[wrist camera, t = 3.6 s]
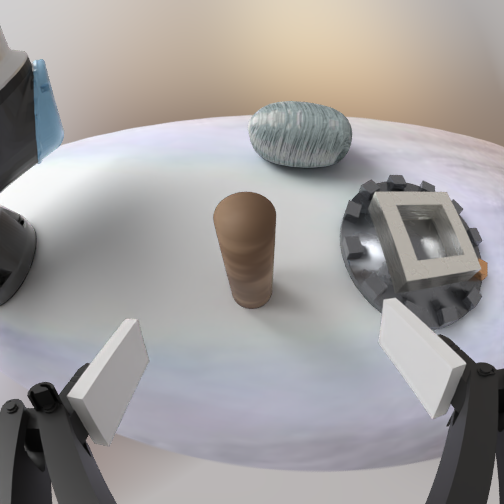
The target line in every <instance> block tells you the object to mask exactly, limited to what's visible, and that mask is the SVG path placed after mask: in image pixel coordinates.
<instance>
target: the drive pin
mask: <svg viewBox="0 0 504 504" xmlns="http://www.w3.org/2000/svg"><path fill="white" fill-rule="evenodd" d="M213 220H214V225H215V229H216V233H217V237H218V241H219V245H220V249H221V253H222V257H223V261H224V265H225V268H226V272H227V276H228V280H229V284H230V288H231V291H232V295H233V298H234V300H235V301H236V302H237V303H238V304H239V305H240V306H242V307H245V308H249V309H254V308H259V307H261V306H263V305H264V304H266V303H267V302H268V300H269V299H270V297H271V294H272V282H273V265H274V247H275V228H276V211H275V208H274V206H273V204H272V203H271V202H270V201H269V200H268V199H267V198H266V197H264V196H262V195H260V194H257V193H253V192H239V193H235V194H232V195H230V196H228V197H226V198H225V199H223V200H222V201H221V202H220V203H219V204H218V205H217V207H216V209H215V211H214V216H213Z"/></svg>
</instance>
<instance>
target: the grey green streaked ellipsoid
mask: <svg viewBox="0 0 504 504" xmlns="http://www.w3.org/2000/svg"><path fill="white" fill-rule="evenodd" d="M248 131H249V136H250V141H251V143H252V145H253V148H254V149H255V151H256V152H257V153H258V154H259V155H260V156H261V157H263V158H264V159H265V160H267V161H270V162H273V163H276V164H279V165H284V166H290V167H302V168H314V167H325V166H329V165H332V164H335V163H337V162H339V161H340V160H341V159H343V157H344V156H345V155H346V154H347V152H348V150H349V148H350V145H351V141H352V129H351V125H350V123H349V121H348V119H347V118H346V117H345V116H344V115H343V114H342V113H340V112H339V111H337V110H335V109H333V108H331V107H327V106H323V105H319V104H314V103H307V102H293V101H287V102H277V103H273V104H269V105H267V106H265V107H263V108H261V109H260V110H259V111H257V112H256V113H255V114H254V115H253V116H252V118H251V119H250V121H249V125H248Z"/></svg>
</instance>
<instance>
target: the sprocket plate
mask: <svg viewBox="0 0 504 504" xmlns="http://www.w3.org/2000/svg"><path fill="white" fill-rule="evenodd" d="M462 210H463V208H462V207H461V206H460V205H459V204H458V203H457V202H456V201H455V200H454V199H453V200H452V201H451V200H450V198H449V196H448V194H447V192H435V186H434V185H431V184H429V183H427V182H425V181H422V183H421V185H420V187H419V186H417V185H413V184H410V183H406V182H405V180H404V178H403V176H402V175H390V176H389V178H388V181H387V182H382V183H377V184H376V183H375V182H373V181H372V180H370V181H368V182H366V183H365V184H363V185H361V188H360V191H359V193H358V194H357V195H356V196H355V197H354V198H353V199H352V201H350V200H349V202H348V205H347V208H346V211H345V214H344V217H343V220H342V224H341V230H340V246H341V251H342V256H343V260H344V263H345V266H346V268H347V270H348V273H349V275H350V277H351V279H352V280H353V282H354V284H355V285H356V287H357V288H358V290H359V291H360V292H361V294H362V295H363V296H364V297H365V298H366V299H367V300H368V301H369V303H370V304H371V305H372V306H374V307H375V308H376V309H377V310H378V311H380V312H381V313H382V310H383V300H384V299H391V298H396V299H398V300H399V301H400V302H401V303H402V304H403V305H404V306H406V307H407V308H408V309H409V310H410V311H411V312H412V313H413V314H415V315H416V316H417V317H418V318H419V319H420V320H421V321H422V322H423V323H425V324H426V325H427V326H428V327H429V328H430V329H431V330H433V329H438V328H443V327H445V326H448V325H450V324H452V323H454V322H456V321H457V320H459V319H460V318H462V317H463V316H464V315H465V314H466V313H467V312H468V311H470V310H472V309H473V308H475V307H476V305H477V303H478V302H479V300H480V299H481V297H482V296H481V294H480V293H479V291H480V287H481V283H482V280H483V279H484V278H486V277H487V262H485V261H483V260H481V257H480V253H479V249H478V245H479V244H480V243H481V242H482V239H481V237H480V235H479V232H478V230H477V228H469V227H468V226H467V224H466V223H465V221H464V220H463V219H462V217H461V216H460V215H459V214H460V213H461V212H462Z"/></svg>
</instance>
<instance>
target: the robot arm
mask: <svg viewBox="0 0 504 504" xmlns="http://www.w3.org/2000/svg"><path fill="white" fill-rule="evenodd" d="M63 138H64V130H63V126H62V123H61V120H60V116H59V113H58V109H57V106H56V103H55V99H54V96H53V92H52V88H51V85H50V81H49V77H48V73H47V69H46V65H45V61H44V60H43V59H40V60H35V61H34V62H33V63H32V64H31V62H30V60H29V58H28V55H27V53H26V52H25V51H18V50H11V49H10V48H9V47H8V45H7V42H6V40H5V37H4V34H3V32H2V29H1V27H0V193H1V192H2V191H3V190H4V189H5V188H7V187H8V186H9V185H10V184H11V183H13V182H14V181H15V180H16V179H17V178H19V177H20V176H21V175H22V174H24V173H25V172H26V171H27V170H29V169H30V168H31V167H33V166H34V165H35V164H37V163H38V164H40V163H41V162H42V159H44V158H45V157H46V156H48V155H49V154H50V153H51V152H53V151H54V150H55V149H57V148H58V147H59V146H60V145H61V143H62V141H63ZM35 247H36V234H35V230H34V228H33V226H32V225H31V224H30V223H29V222H28V221H27V220H26V219H25V218H24V217H23V216H22V215H20V214H18V213H16V212H14V211H12V210H10V209H8V208H6V207H4V206H2V205H0V305H1V304H3V303H5V302H6V301H7V300H9V299H10V298H11V297H12V296H13V295H14V293H15V292H16V291H17V290H18V288H19V287H20V285H21V284H22V282H23V281H24V279H25V277H26V275H27V273H28V271H29V268H30V266H31V263H32V260H33V257H34V253H35ZM378 343H379V345H380V346H381V347H382V349H383V350H384V351H385V353H386V354H387V355H388V357H389V358H390V360H391V361H392V362H393V364H394V365H395V366H396V368H397V369H398V371H399V372H400V373H401V375H402V376H403V378H404V379H405V380H406V382H407V383H408V385H409V386H410V388H411V389H412V390H413V392H414V393H415V395H416V396H417V398H418V399H419V401H420V402H421V403H422V405H423V406H424V408H425V409H426V411H427V412H428V414H429V415H430V417H431V418H432V419H435V418H437V417H440V416H442V415H444V414H446V413H447V411H448V408H449V406H450V404H451V405H452V406H453V407H454V408H455V409H454V411H453V414H452V416H451V418H450V420H449V422H448V424H447V426H449V425H450V427H449V431H448V435H447V439H446V443H445V447H444V451H443V454H442V458H441V461H440V464H439V468H438V471H437V474H436V477H435V480H434V483H433V486H432V488H431V491H430V493H429V496H428V498H427V501H426V503H425V504H487V500H488V495H489V490H490V486H491V480H492V475H493V468H494V461H495V453H496V459H497V468H498V479H499V496H500V504H504V369H499V370H496V369H495V368H494V366H492V365H490V364H488V363H475V362H474V361H473V360H472V359H471V358H470V357H469V356H468V355H467V354H466V353H465V352H463V351H462V350H460V348H459V347H458V346H457V345H455V343H454V342H453V341H451V340H450V339H449V338H447V337H445V336H443V335H441V334H440V335H436V334H435V333H434V332H433V331H432V330H431V329H430V328H429V327H428V326H427V325H426V324H425V323H423V322H422V321H421V320H420V319H419V318H418V317H417V316H416V315H415V314H413V313H412V312H411V311H410V310H409V309H408V308H407V307H406V306H404V305H403V304H402V303H401V302H400V301H399V300H398V299H396V298H391V299H384V300H383V310H382V318H381V326H380V333H379V340H378ZM148 363H149V358H148V354H147V351H146V347H145V344H144V340H143V337H142V333H141V329H140V325H139V321H138V319H125V320H124V321H123V322H122V324H121V325H120V326H119V327H118V329H117V330H116V331H115V332H114V334H113V335H112V336H111V338H110V339H109V340H108V341H107V343H106V344H105V345H104V347H103V348H102V349H101V350H100V352H99V353H98V354H97V356H96V357H95V358H94V360H93V361H92V362H91V363H86V364H85V365H83V366H82V367H81V368H79V369H78V371H77V372H76V373H75V374H74V377H72V378H71V380H70V382H68V384H67V385H66V386H65V388H64V389H63V390H62V392H61V393H60V394H59V395H58V393H57V391H56V389H55V387H54V386H53V384H51V383H48V382H42V383H38V384H36V385H34V386H33V387H32V388H31V389H30V390H29V392H28V395H27V396H28V398H29V399H30V401H31V403H32V405H33V406H34V408H26V407H25V406H24V404H23V402H22V401H21V400H19V399H12V400H9V401H7V402H6V403H5V404H4V405H3V406H2V408H1V411H0V504H52V493H51V482H52V485H53V489H54V492H55V495H56V498H57V501H58V504H117V503H116V502H115V500H114V498H113V496H112V494H111V492H110V491H109V489H108V487H107V485H106V483H105V481H104V479H103V477H102V475H101V472H100V470H99V469H98V466H97V464H96V461H95V459H94V457H93V455H92V452H91V450H90V447H89V445H88V444H87V443H86V439H87V437H88V435H89V436H90V437H91V439H92V440H93V442H94V443H96V444H100V445H104V446H110V444H111V442H112V439H113V437H114V435H115V433H116V431H117V428H118V426H119V424H120V422H121V420H122V417H123V415H124V413H125V411H126V409H127V406H128V404H129V402H130V400H131V398H132V396H133V394H134V392H135V389H136V387H137V385H138V383H139V381H140V379H141V377H142V375H143V373H144V371H145V369H146V367H147V365H148Z"/></svg>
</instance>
